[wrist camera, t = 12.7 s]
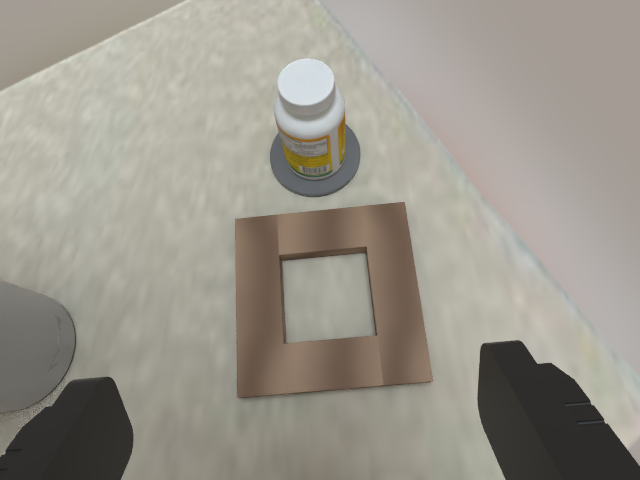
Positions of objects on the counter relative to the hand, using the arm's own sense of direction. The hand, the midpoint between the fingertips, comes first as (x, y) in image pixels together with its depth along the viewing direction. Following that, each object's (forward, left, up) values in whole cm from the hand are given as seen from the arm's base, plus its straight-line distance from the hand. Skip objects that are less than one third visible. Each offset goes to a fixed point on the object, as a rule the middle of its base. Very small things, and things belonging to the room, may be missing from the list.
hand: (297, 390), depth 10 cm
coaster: (0, +21, -25) cm, 32 cm away
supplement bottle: (0, +21, -24) cm, 32 cm away
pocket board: (0, +8, -25) cm, 26 cm away
